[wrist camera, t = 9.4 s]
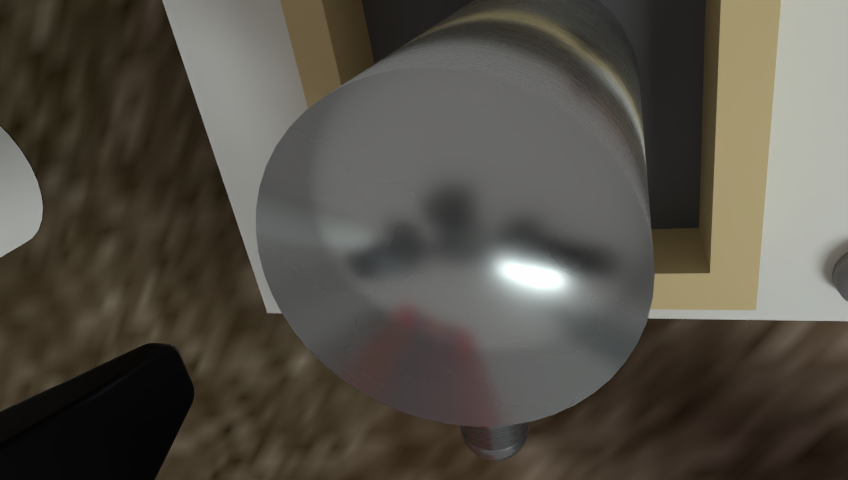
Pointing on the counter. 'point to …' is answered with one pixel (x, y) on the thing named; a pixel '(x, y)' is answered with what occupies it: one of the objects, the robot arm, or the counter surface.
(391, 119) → the spout can
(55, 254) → the counter surface
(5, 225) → the cylindrical container
